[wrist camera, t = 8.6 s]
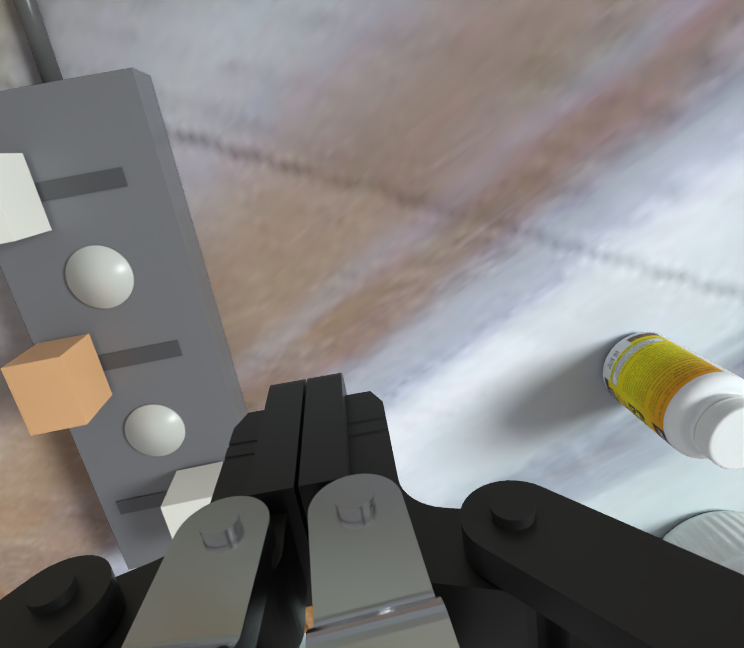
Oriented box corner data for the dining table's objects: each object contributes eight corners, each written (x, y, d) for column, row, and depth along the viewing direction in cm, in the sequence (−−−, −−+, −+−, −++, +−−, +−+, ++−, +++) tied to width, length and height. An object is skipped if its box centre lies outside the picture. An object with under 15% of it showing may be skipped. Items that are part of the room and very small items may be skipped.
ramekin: (767, 605, 47) (839, 679, 41) (627, 631, 47) (677, 710, 40) (786, 483, 43) (871, 544, 36) (632, 510, 42) (690, 576, 36)
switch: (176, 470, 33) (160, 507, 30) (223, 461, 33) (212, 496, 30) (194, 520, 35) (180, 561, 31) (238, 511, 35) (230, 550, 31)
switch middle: (36, 343, 30) (0, 368, 26) (89, 333, 30) (59, 356, 27) (62, 404, 31) (31, 435, 28) (112, 394, 31) (86, 424, 28)
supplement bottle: (584, 384, 38) (674, 464, 28) (625, 317, 37) (735, 378, 27) (645, 409, 39) (751, 494, 29) (687, 345, 38) (813, 413, 28)
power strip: (-123, -123, 25) (-183, -160, 22) (83, -157, 26) (51, -198, 22) (142, 538, 39) (127, 571, 36) (275, 510, 39) (271, 541, 36)
